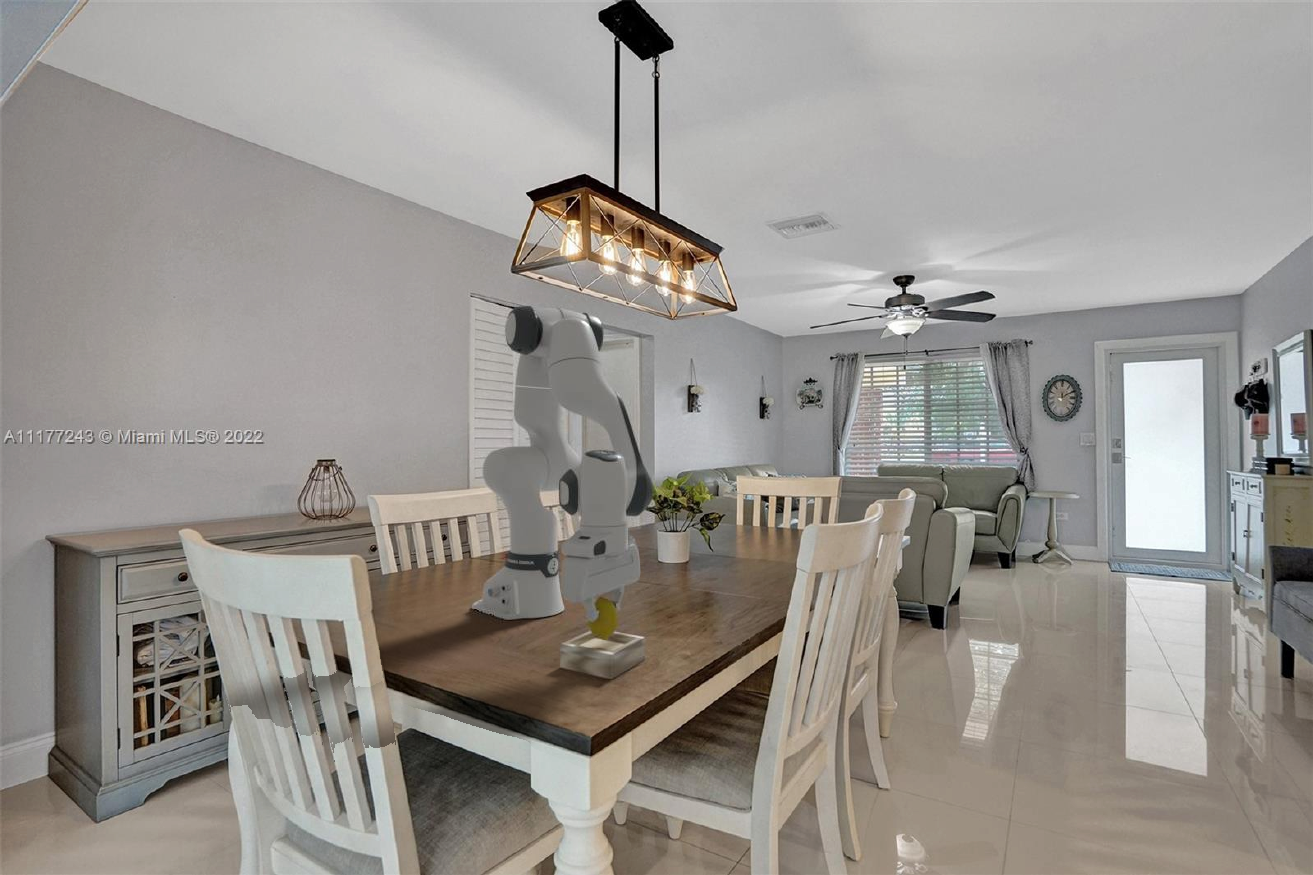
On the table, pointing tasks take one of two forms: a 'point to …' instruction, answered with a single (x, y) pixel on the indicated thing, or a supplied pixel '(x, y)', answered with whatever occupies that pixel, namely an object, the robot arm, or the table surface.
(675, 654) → the table surface
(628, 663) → the base
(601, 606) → the lemon
